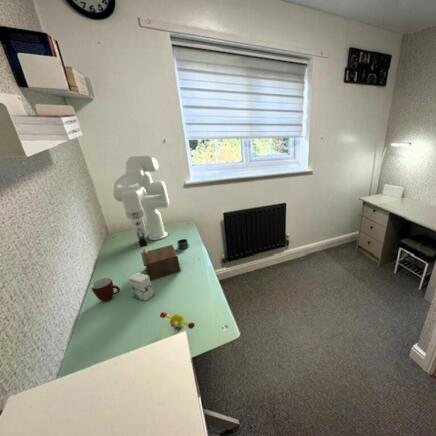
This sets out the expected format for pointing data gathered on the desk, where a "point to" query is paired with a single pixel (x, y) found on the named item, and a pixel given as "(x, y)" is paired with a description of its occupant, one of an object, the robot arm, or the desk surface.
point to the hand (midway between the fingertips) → (142, 242)
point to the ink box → (141, 286)
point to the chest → (163, 268)
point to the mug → (104, 289)
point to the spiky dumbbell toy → (176, 320)
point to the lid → (158, 255)
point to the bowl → (182, 243)
